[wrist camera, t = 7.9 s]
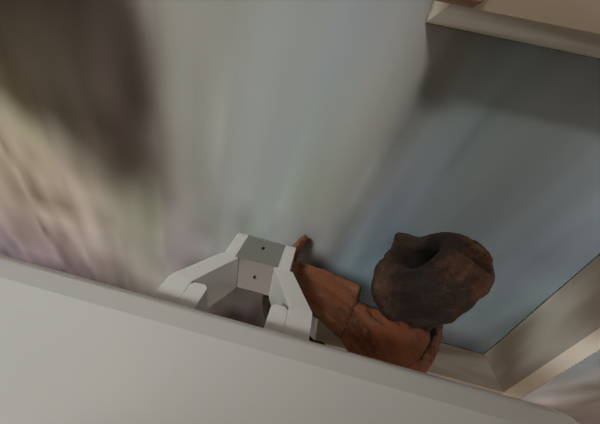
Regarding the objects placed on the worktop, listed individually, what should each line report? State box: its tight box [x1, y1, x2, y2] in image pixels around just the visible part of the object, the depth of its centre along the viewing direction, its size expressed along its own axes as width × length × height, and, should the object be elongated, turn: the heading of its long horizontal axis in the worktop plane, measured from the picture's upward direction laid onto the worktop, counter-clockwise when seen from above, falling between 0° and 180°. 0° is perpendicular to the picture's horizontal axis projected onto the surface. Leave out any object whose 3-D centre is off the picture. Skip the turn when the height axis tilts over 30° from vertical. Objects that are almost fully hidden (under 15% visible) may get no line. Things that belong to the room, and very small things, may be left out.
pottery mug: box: [262, 232, 495, 373], centre depth 13 cm, size 12×10×8 cm
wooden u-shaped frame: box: [313, 0, 600, 399], centre depth 12 cm, size 20×15×3 cm
